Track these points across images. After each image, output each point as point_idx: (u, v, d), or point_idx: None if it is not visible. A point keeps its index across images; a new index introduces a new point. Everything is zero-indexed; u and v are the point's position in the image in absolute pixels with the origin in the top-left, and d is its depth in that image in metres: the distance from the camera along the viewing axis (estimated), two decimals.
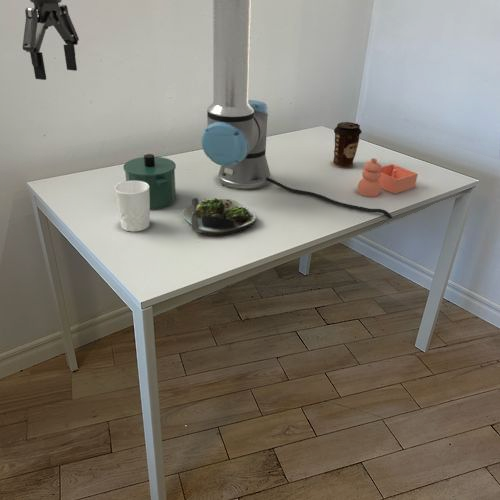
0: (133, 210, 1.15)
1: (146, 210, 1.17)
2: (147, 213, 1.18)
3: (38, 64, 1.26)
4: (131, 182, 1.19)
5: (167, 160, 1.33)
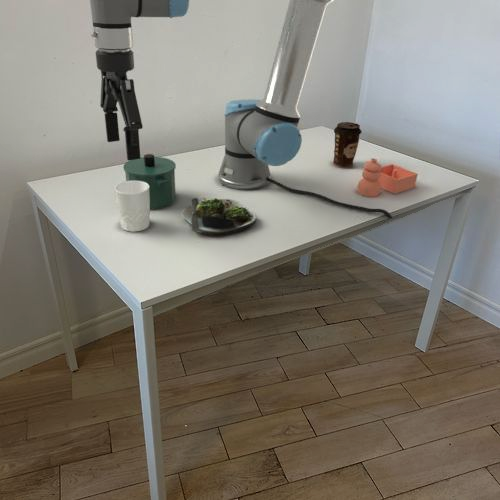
0: (133, 210, 1.15)
1: (146, 210, 1.17)
2: (147, 213, 1.18)
3: None
4: (131, 182, 1.19)
5: (167, 160, 1.33)
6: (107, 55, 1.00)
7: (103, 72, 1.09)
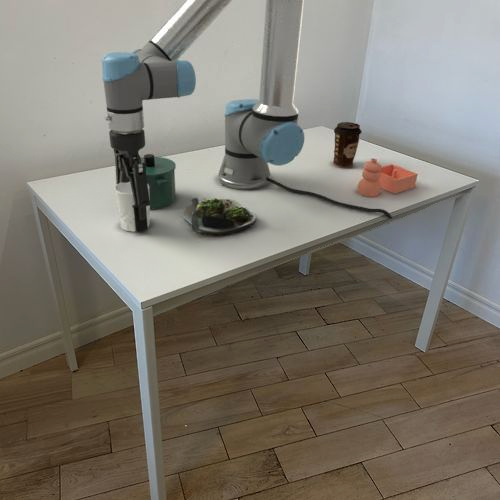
0: (133, 210, 1.15)
1: (146, 210, 1.17)
2: (147, 213, 1.18)
3: None
4: None
5: (167, 160, 1.33)
6: (120, 137, 1.06)
7: (116, 150, 1.16)
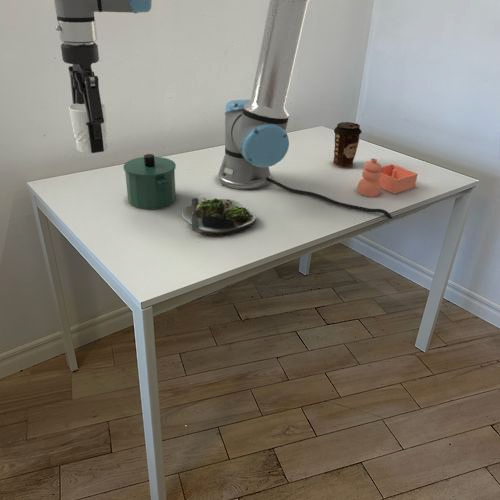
0: None
1: (102, 131, 1.14)
2: (103, 135, 1.15)
3: None
4: None
5: (167, 160, 1.33)
6: (71, 48, 1.04)
7: (70, 69, 1.13)
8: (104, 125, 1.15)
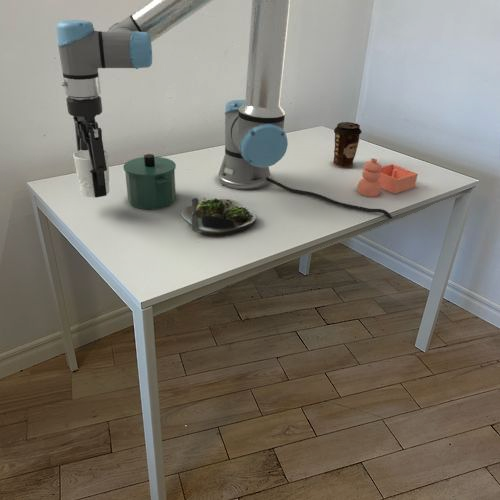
0: (91, 176, 1.18)
1: None
2: (106, 180, 1.21)
3: None
4: None
5: (167, 160, 1.33)
6: (76, 102, 1.10)
7: (75, 118, 1.19)
8: (107, 171, 1.21)
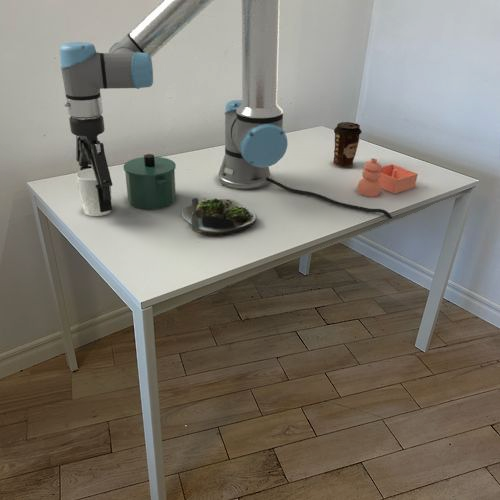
0: (94, 195, 1.21)
1: None
2: None
3: None
4: None
5: (167, 160, 1.33)
6: (79, 122, 1.12)
7: None
8: None
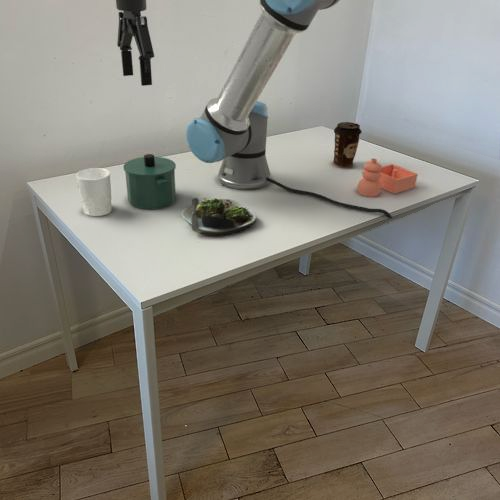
0: (94, 195, 1.21)
1: (107, 196, 1.23)
2: (108, 199, 1.24)
3: None
4: (93, 169, 1.25)
5: (167, 160, 1.33)
6: None
7: (120, 14, 1.33)
8: (109, 190, 1.23)
